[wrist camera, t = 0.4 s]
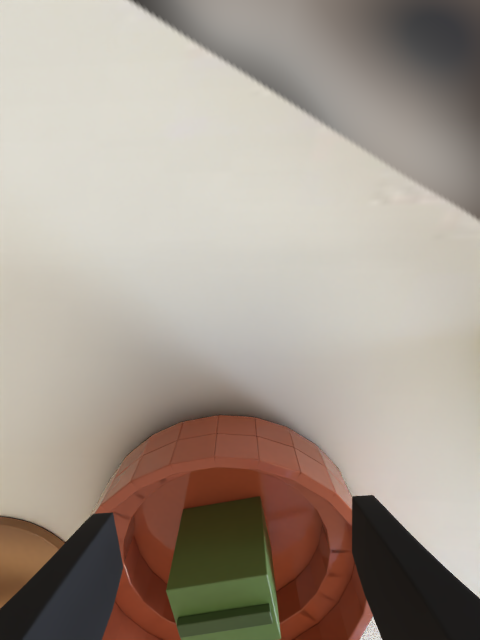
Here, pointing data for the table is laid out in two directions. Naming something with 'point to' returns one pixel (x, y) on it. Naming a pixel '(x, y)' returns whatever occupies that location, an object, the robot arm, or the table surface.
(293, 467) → the bowl
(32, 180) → the table surface
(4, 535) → the coaster
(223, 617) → the green grooved block
